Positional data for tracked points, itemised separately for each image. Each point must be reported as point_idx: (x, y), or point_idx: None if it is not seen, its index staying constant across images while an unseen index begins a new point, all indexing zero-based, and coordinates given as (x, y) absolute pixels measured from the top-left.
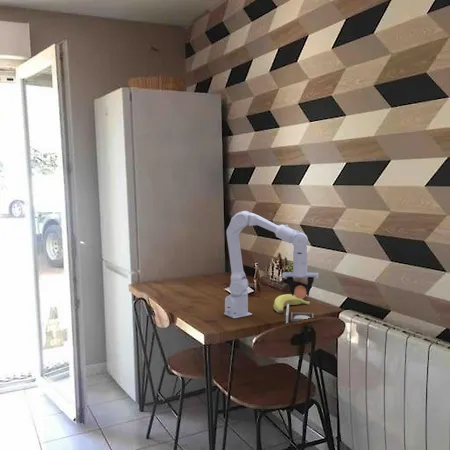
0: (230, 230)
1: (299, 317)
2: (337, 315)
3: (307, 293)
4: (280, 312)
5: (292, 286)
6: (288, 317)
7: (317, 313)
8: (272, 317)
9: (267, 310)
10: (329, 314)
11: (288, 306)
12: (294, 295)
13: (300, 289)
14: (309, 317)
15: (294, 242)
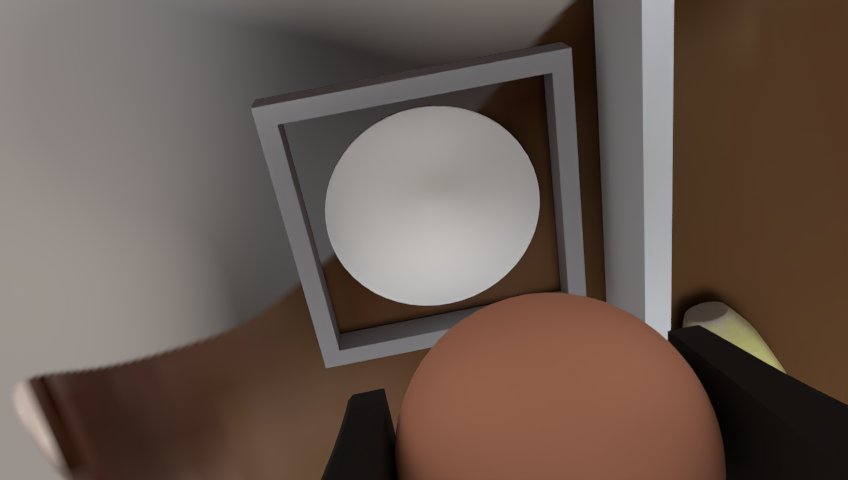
0: None
1: (469, 214)
2: (61, 428)
3: (375, 418)
4: (708, 305)
5: (842, 452)
6: (603, 166)
7: (298, 426)
8: (795, 135)
9: (838, 362)
10: (160, 433)
11: None
12: None
13: (568, 415)
14: (348, 250)
15: None
